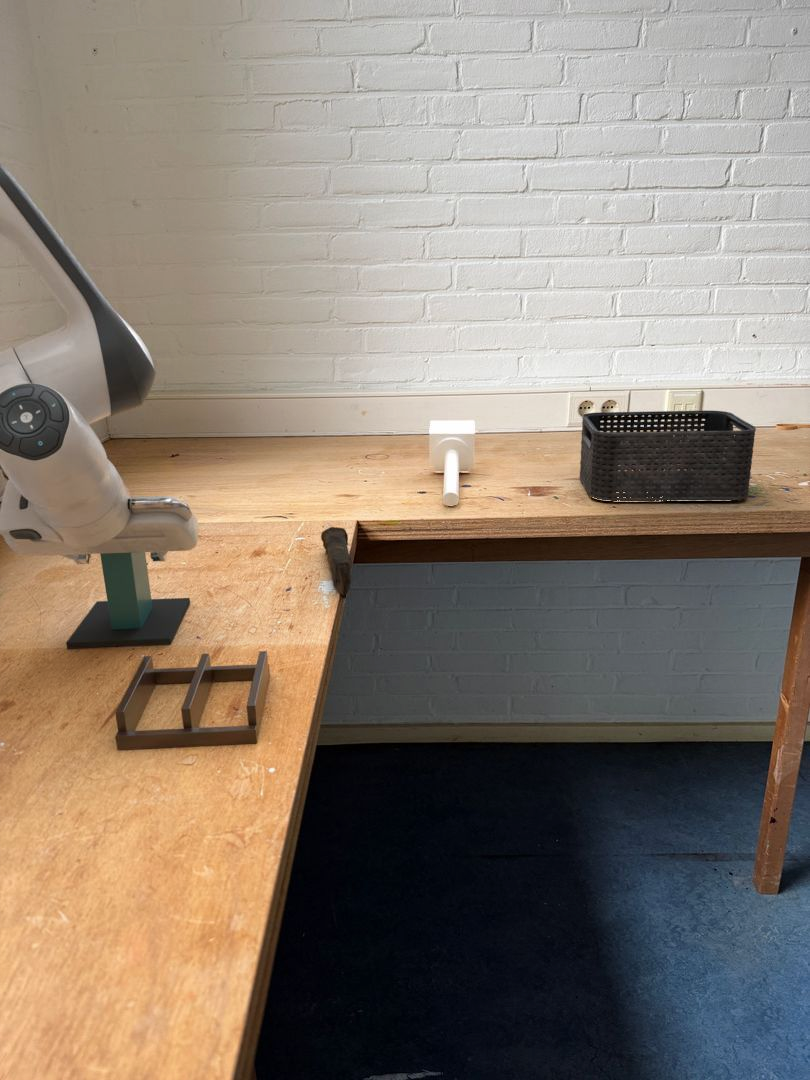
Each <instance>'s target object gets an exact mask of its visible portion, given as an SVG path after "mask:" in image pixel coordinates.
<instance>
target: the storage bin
mask: <svg viewBox="0 0 810 1080" xmlns="http://www.w3.org/2000/svg"><path fill="white" fill-rule="evenodd" d="M581 419H582V421H581V422H582V423H581V425H582V426H581V428H582V429H581V441H580V445H581V447H580V462H579V464H580V467H579V468H580V469H579V481H580V482H581V481H582V482H581V484H582V483H583V484H582V486H583V485H584V486H583V487H585V488H586V490H587V491H586V490H585V491H586V493H587V492H588V493H589V495H590V496H591V497H594V498H597V499H602V500H611V501H617V500H618V501H619V500H620V501H655V500H656V501H659V500H661V501H662V500H663V501H667V500H670V501H671V500H738V501H743V500H742V499H744V500H746V499H748V497H749V490H750V489H749V488H750V480H751V473H752V472H751V470H752V464H753V455H754V446H755V436H756V431H757V427H756V426H755V425H753V424H751V423H749V422H747V421H746V420H744V419H742V418H741V417H739V416H738V415H736V414H734V413H732V412H729V411H723V410H660V411H659V410H658V411H656V410H655V411H603V412H601V411H599V412H588V413H584V414H582V418H581ZM734 427H735V428H737V429H738V430H734ZM585 488H584V489H585ZM616 492H619V493H616ZM623 492H625V493H623ZM647 492H648V493H647ZM588 493H587V494H588ZM589 495H588V496H589ZM662 496H663V497H662ZM617 497H619V498H617ZM623 497H626V498H623ZM630 497H631V498H630ZM647 497H648V498H647ZM652 497H653V498H652ZM660 497H662V498H660ZM745 498H746V499H745Z"/></svg>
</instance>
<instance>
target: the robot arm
mask: <svg viewBox="0 0 810 1080" xmlns="http://www.w3.org/2000/svg"><path fill="white" fill-rule="evenodd" d="M60 236H61V235H59V234H58V232H57V231H56V229H55V228H54V227H53V225H52V224H51V222H49V220H48V219H47V218H46V216H45V214H43V212H42V210H40V208H39V207H38V206H37V205H36V204H35V202H34V201H33V200H32V199H31V197H30V196H29V195H28V193H27V192H26V190H25V189H24V188H23V186H22V185H20V183H19V181H18V180H17V179H16V178H15V177H14V176H13V175H12V174H11V172H9V171H8V169H7V168H6V167H5V166H4V165H3V164H1V163H0V239H2V240H3V241H6V242H7V243H8V244H10V245H11V246H13V248H15V249H16V250H17V251H18V252H19V254H20V255H21V256H22V257H23V258H24V260H25V261H26V262H27V263H28V265H29V266H30V267H31V269H32V270H33V271H34V272H35V274H36V275H37V276H38V278H39V279H40V280H41V281H42V283H43V284H44V286H45V287H46V288H47V290H48V291H49V292H50V294H51V295H52V296H53V297H54V299H55V300H56V301H57V302H58V304H59V305H60V306H61V307H62V309H63V310H64V312H65V313H66V316H67V318H66V322H65V323H64V324H63V325H62V326H60V327H59V328H56V329H54V330H51V331H49V332H47V333H45V334H42V335H40V336H37V337H35V338H33V339H30V340H28V341H26V342H23V343H21V344H19V345H16V346H10V347H9V348H6V349H4V350H2V351H0V470H1V471H3V472H4V474H5V475H6V477H7V478H8V480H7V482H6V485H5V488H4V492H3V495H2V499H1V504H0V535H1V536H2V537H3V539H4V541H5V543H6V544H7V546H8V547H10V548H11V550H12V551H14V552H15V553H16V554H18V555H21V556H26V557H42V556H44V557H45V556H60V557H62V558H66V559H69V560H72V561H74V562H75V564H77V565H91V563H92V559H91V558H92V557H93V556H92V555H99V554H106V553H135V552H145V553H150V554H149V557H150V559H151V560H152V562H166V561H167V554H168V553H169V552H190V551H192V550H193V549H194V548H196V547H197V545H198V541H199V521H198V519H197V517H196V516H195V514H194V512H193V511H192V510H191V508H190V505H189V503H187V502H184V501H183V500H181V499H180V498H178V497H175V496H170V495H149V496H131V493H130V490H129V489H128V488H127V485H126V484H125V481H124V480H123V479H122V477H121V475H120V474H119V472H118V470H117V468H116V467H115V465H114V464H113V463H112V462H111V461H110V460H109V459H108V456H107V452H106V449H105V447H104V445H103V444H102V442H101V439H99V437H98V436H97V434H96V432H95V430H94V429H93V428H92V427H91V424H94V423H96V422H99V421H101V420H103V419H105V418H107V417H109V416H111V417H112V416H116V415H120V414H121V413H124V412H128V411H130V410H133V409H136V408H139V407H142V406H143V404H144V403H145V401H146V400H147V398H148V396H149V394H150V392H151V389H152V387H153V385H154V382H155V379H156V374H157V373H156V370H155V365H154V361H153V358H152V356H151V353H150V351H149V349H148V348H147V346H146V344H145V343H144V341H143V339H142V338H141V337H140V335H139V334H138V333H137V332H136V331H135V329H134V328H133V327H132V326H131V325H130V324H129V323H128V322H127V321H126V320H125V319H124V318H123V317H122V316H121V315H120V314H119V313H118V312H117V311H116V310H115V309H114V308H113V307H112V305H111V304H110V302H109V301H108V300H107V298H105V296H104V295H103V293H102V292H101V291H100V290H99V288H98V287H97V284H96V283H95V282H94V281H93V279H92V278H91V277H90V275H89V274H88V272H87V271H86V270H85V269H84V267H83V266H82V264H81V263H80V262H79V260H77V258H76V257H75V255H74V254H73V252H72V251H71V250H70V248H69V247H68V246H67V245H66V243H65V242H64V240H63V238H62V237H60Z"/></svg>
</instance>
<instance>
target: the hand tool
mask: <svg viewBox="0 0 810 1080" xmlns="http://www.w3.org/2000/svg"><path fill="white" fill-rule="evenodd" d="M320 540H321V542H322V546H323V548H324V550H325V554H326V555H327V561H328V565H329V569H330V570H329V571H330V575H331V580H332V585H333V587H334V589H335V590H337V592H338V593H339V594H341V595H342V596H346V595H347V594H348V593H349V591H350V588H351V582H352V575H351V574H352V572H351V571H352V569H351V567H352V565H351V564H352V562H351V561H352V559H351V555H350V553H349V547H348V546H349V535H348V532H347V531H346V528H343V527H337V526H331V527H328V528H326V529H324V530H323V531H322V532H321V534H320Z"/></svg>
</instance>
